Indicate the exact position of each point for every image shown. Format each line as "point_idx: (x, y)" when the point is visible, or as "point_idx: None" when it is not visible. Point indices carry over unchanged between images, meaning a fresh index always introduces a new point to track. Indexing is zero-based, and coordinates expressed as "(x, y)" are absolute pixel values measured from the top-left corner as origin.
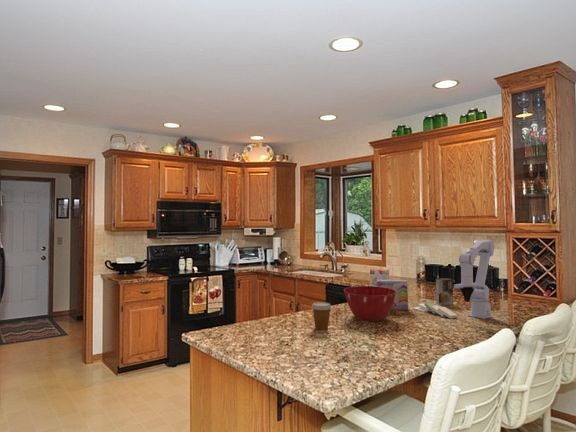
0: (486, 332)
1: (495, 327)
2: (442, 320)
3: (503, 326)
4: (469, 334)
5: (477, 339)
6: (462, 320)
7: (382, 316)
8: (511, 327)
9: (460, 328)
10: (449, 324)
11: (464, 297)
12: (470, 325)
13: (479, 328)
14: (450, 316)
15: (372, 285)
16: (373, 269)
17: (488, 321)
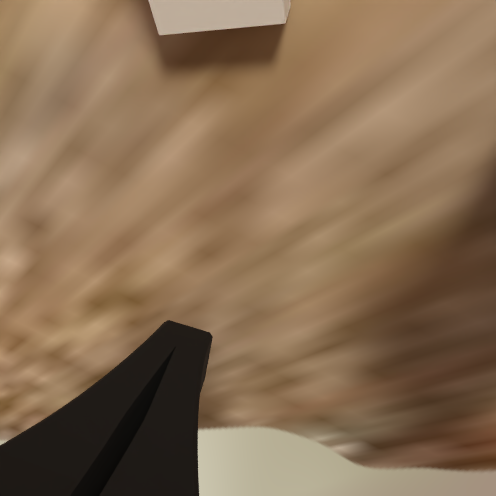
0: None
1: (286, 406)
2: (32, 49)
3: (366, 425)
4: (20, 383)
5: (12, 429)
6: (235, 158)
7: None
8: (387, 457)
9: (40, 302)
10: (21, 196)
11: (126, 371)
12: (163, 297)
13: None
14: (161, 22)
15: None
16: None
17: (436, 309)
